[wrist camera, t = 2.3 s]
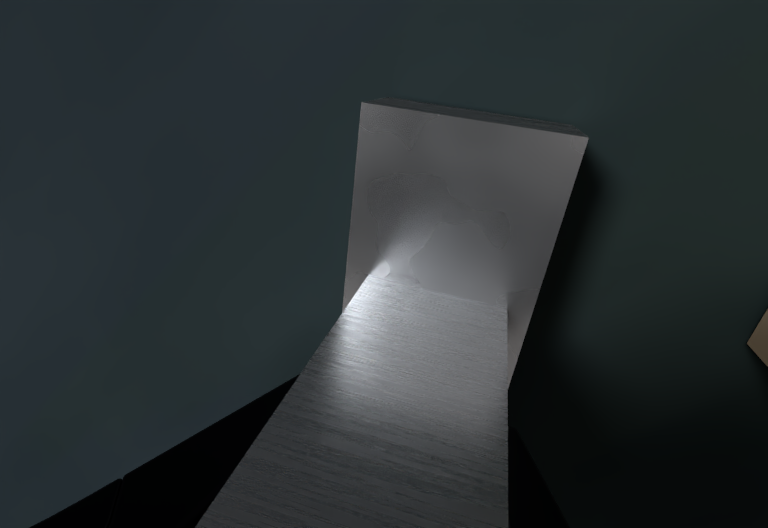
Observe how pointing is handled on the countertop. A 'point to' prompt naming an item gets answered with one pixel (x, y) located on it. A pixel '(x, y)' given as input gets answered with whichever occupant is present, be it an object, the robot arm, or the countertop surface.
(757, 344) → the slot block
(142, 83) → the countertop surface
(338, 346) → the scraper
